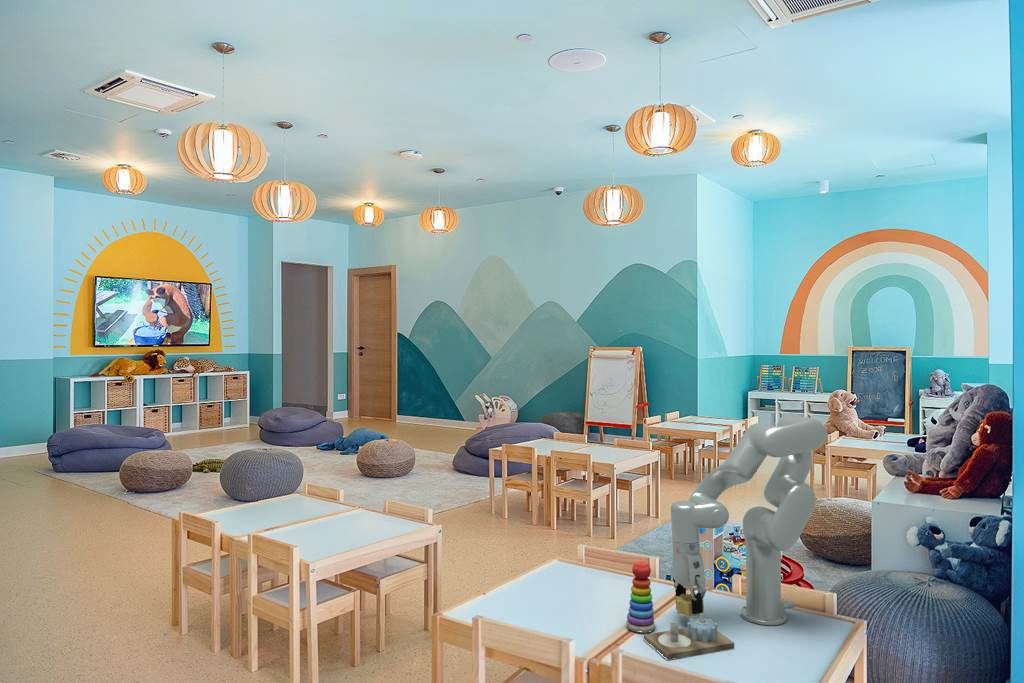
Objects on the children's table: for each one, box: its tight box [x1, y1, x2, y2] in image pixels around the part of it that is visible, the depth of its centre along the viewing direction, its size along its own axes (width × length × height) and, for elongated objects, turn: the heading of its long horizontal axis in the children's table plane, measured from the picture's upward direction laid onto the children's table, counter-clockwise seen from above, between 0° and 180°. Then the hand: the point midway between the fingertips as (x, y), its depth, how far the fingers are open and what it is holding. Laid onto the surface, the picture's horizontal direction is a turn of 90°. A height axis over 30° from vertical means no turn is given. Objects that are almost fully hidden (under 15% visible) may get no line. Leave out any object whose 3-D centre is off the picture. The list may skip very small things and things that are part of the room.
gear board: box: [643, 617, 735, 660], centre depth 185 cm, size 20×12×6 cm, turn 108°
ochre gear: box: [675, 592, 705, 617], centre depth 197 cm, size 8×8×4 cm
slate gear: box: [686, 616, 718, 643], centre depth 186 cm, size 8×8×4 cm
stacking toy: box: [626, 560, 656, 633], centre depth 195 cm, size 8×8×19 cm
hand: (689, 607), depth 197 cm, fingers closed on ochre gear, 7 cm apart
